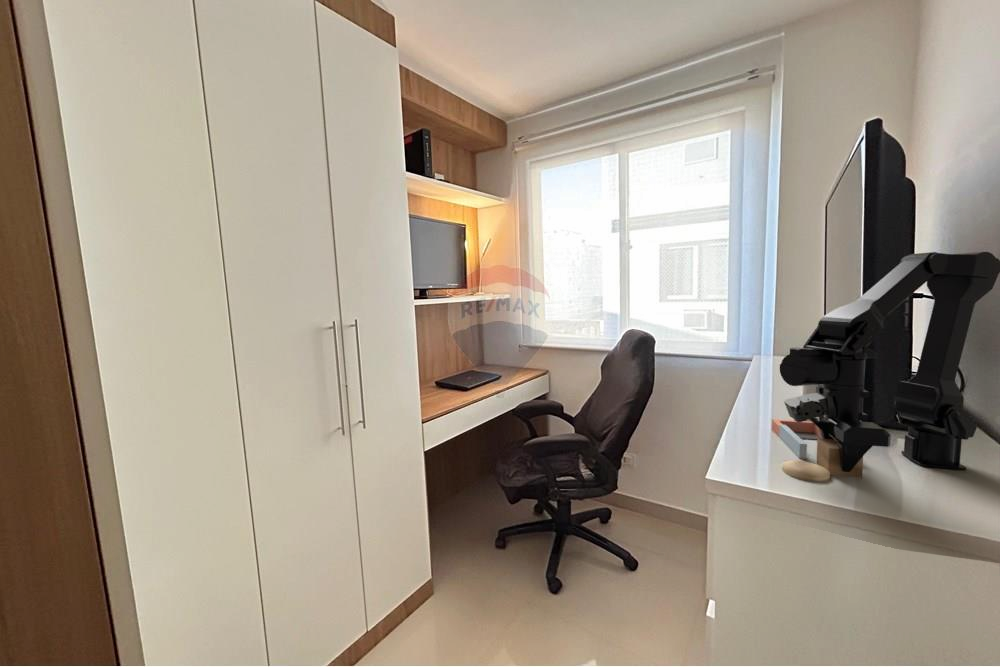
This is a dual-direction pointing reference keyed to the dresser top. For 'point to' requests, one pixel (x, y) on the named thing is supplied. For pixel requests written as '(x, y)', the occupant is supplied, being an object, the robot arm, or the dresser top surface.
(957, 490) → the dresser top surface
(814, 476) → the cork coaster
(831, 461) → the walnut block
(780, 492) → the dresser top surface
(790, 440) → the channel
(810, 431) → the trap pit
